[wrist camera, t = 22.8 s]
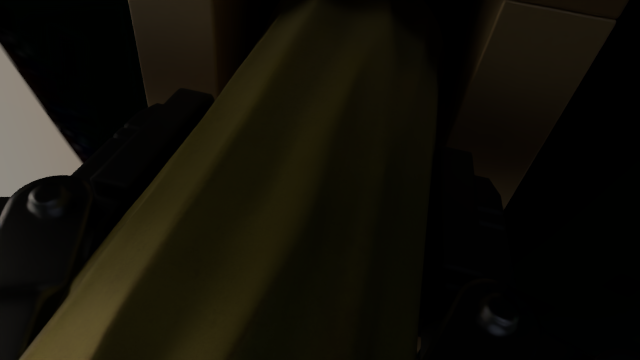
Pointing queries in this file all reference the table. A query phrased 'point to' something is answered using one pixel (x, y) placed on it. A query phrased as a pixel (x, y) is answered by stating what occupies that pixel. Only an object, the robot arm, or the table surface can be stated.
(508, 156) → the holder
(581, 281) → the table surface
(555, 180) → the table surface
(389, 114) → the vase
